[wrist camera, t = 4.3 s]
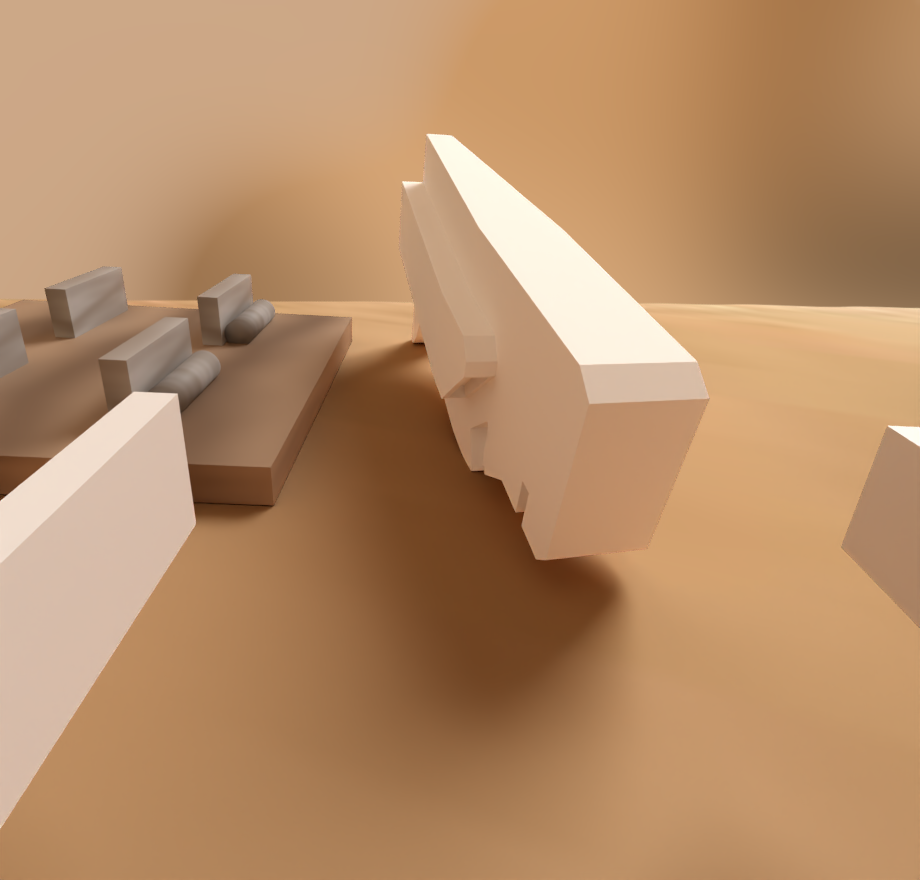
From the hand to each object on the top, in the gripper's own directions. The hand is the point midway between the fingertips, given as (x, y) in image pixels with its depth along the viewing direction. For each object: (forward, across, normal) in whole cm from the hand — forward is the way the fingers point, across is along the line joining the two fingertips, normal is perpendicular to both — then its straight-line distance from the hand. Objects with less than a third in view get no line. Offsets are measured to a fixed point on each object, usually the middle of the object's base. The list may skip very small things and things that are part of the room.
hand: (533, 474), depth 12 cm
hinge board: (+19, -17, -6) cm, 26 cm away
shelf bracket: (+17, 0, -7) cm, 18 cm away
